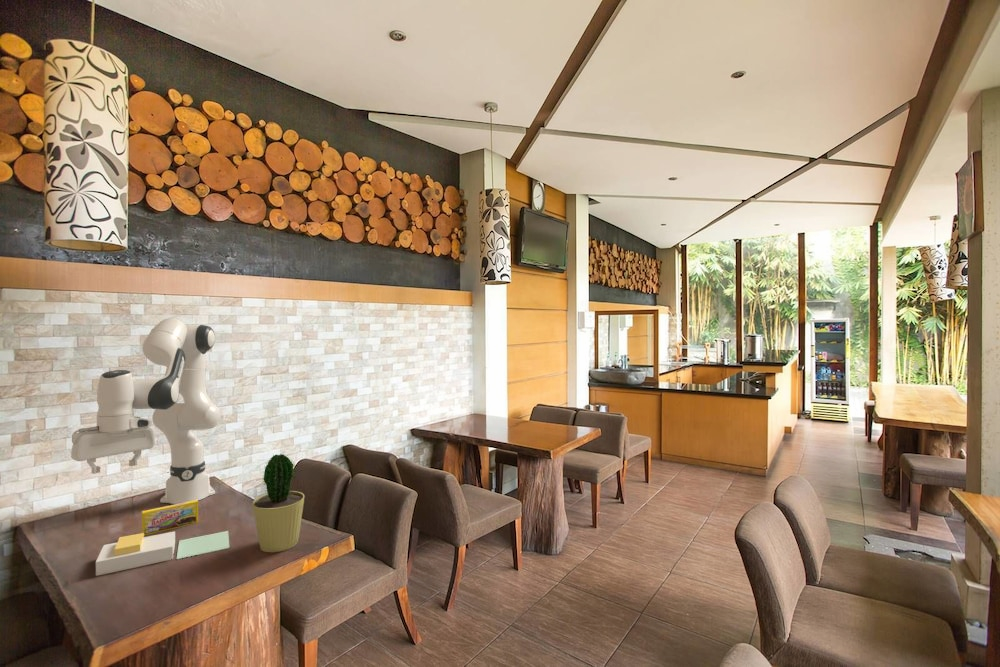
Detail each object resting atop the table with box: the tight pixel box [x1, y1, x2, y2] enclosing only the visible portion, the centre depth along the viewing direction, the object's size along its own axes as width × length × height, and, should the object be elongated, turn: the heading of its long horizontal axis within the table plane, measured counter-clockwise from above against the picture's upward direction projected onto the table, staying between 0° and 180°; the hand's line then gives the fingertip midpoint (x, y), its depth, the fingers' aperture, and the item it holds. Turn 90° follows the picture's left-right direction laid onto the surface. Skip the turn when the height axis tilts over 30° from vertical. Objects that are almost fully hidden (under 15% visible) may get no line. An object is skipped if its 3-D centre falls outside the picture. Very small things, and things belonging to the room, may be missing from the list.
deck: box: [95, 531, 176, 577], centre depth 144 cm, size 12×18×4 cm, turn 122°
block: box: [114, 532, 145, 556], centre depth 143 cm, size 9×6×2 cm, turn 32°
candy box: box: [141, 500, 199, 537], centre depth 165 cm, size 16×2×8 cm, turn 132°
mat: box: [175, 530, 230, 561], centre depth 153 cm, size 14×14×1 cm
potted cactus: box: [251, 451, 305, 553], centre depth 153 cm, size 15×15×30 cm
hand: (114, 469), depth 144 cm, fingers open, 8 cm apart
